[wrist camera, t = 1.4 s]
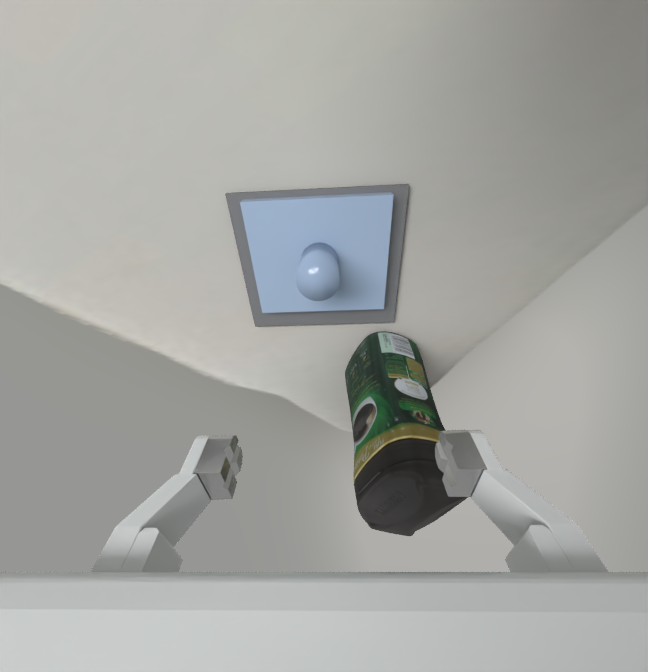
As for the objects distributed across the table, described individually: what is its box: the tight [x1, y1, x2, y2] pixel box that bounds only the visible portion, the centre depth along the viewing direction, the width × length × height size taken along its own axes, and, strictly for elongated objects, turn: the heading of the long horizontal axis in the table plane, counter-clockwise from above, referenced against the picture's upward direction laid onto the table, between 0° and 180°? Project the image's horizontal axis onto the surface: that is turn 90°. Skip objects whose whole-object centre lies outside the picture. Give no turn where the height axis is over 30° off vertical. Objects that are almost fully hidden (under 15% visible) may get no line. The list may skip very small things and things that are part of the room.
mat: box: [225, 184, 409, 327], centre depth 29 cm, size 14×16×1 cm
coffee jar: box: [345, 332, 468, 536], centre depth 29 cm, size 10×8×19 cm
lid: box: [240, 192, 394, 313], centre depth 26 cm, size 11×13×6 cm
